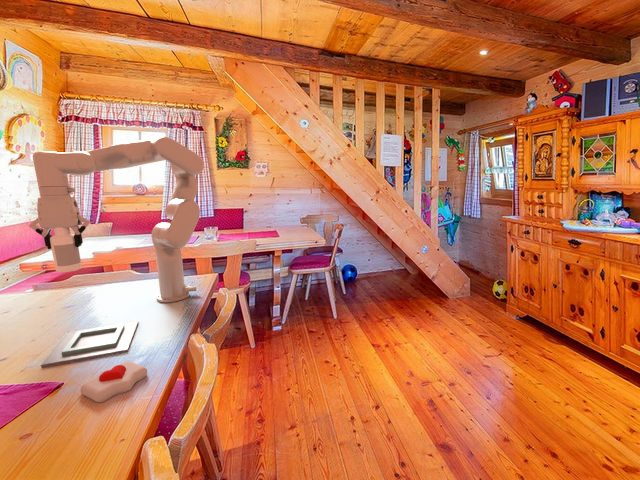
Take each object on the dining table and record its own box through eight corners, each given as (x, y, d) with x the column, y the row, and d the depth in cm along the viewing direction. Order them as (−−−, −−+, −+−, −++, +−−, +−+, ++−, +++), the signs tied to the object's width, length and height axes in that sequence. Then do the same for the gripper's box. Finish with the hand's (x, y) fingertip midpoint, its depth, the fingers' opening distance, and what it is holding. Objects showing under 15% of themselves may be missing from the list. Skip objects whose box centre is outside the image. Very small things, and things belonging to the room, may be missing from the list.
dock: (138, 323, 110) (137, 318, 110) (127, 351, 92) (126, 346, 91) (68, 334, 103) (67, 328, 103) (41, 367, 85) (40, 361, 84)
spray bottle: (67, 273, 101) (56, 217, 98) (50, 272, 103) (39, 217, 99) (87, 267, 108) (78, 214, 104) (71, 266, 110) (61, 214, 106)
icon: (100, 391, 69) (75, 379, 73) (103, 409, 69) (78, 395, 74) (152, 362, 79) (127, 353, 84) (154, 378, 80) (130, 367, 85)
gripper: (91, 190, 107) (99, 242, 110) (26, 192, 101) (37, 247, 105) (83, 191, 100) (92, 247, 103) (14, 193, 94) (26, 252, 98)
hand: (65, 246), depth 104 cm, fingers closed on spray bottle, 6 cm apart
